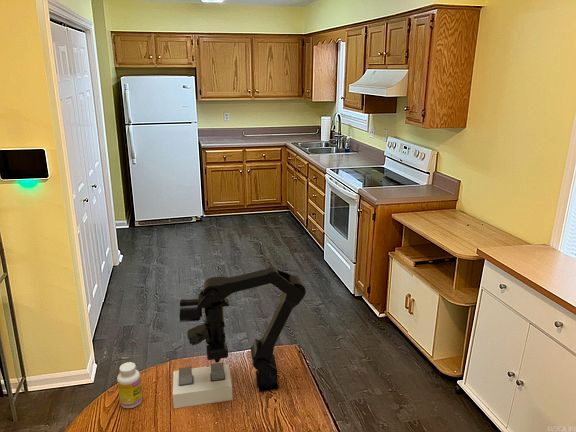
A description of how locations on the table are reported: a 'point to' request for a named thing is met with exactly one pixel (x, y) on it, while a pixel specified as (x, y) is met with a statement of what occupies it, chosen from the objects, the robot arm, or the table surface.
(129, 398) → the supplement bottle
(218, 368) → the peg
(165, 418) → the table surface
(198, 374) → the bore block
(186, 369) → the peg
